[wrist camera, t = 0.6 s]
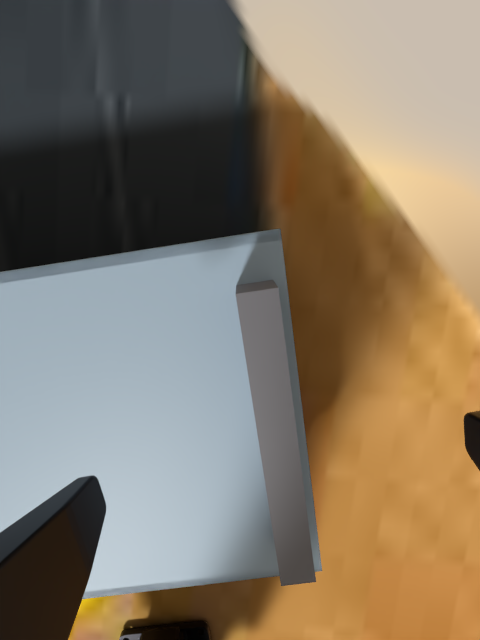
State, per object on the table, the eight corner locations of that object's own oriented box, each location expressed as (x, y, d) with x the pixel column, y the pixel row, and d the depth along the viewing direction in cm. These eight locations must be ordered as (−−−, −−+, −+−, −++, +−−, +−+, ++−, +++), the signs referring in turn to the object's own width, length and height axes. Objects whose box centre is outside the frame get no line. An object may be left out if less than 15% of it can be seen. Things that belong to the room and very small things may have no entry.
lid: (312, 529, 19) (332, 615, 15) (-91, 578, 20) (-181, 672, 16) (274, 229, 16) (287, 228, 11) (-216, 305, 16) (-378, 332, 12)
